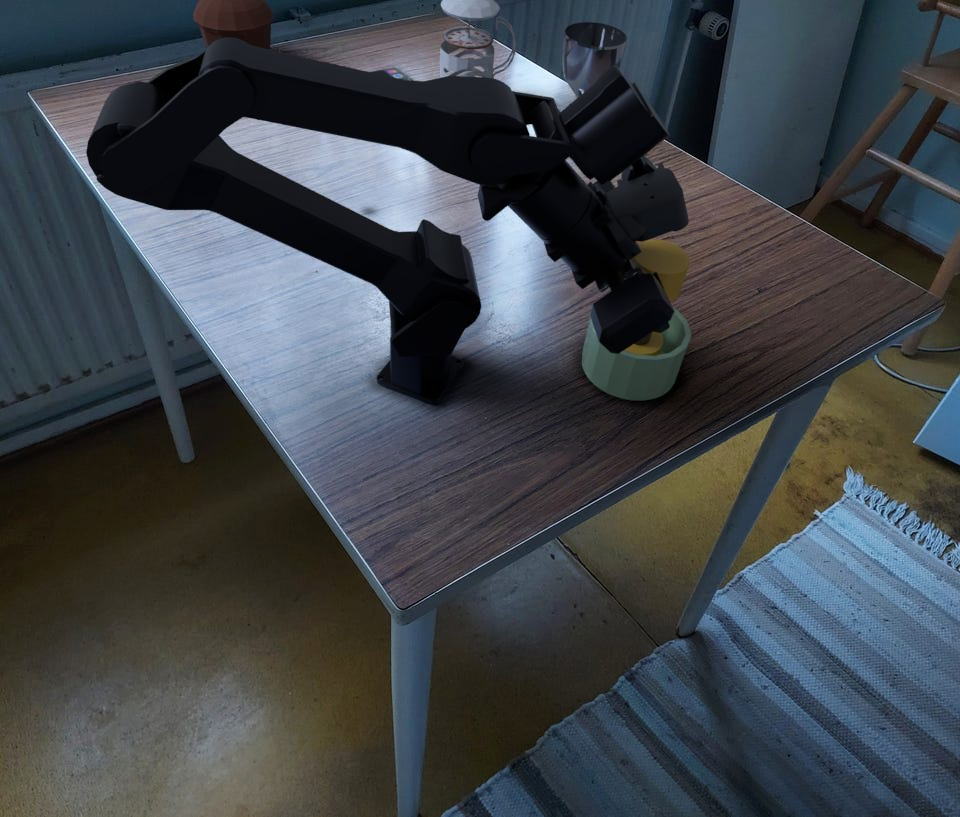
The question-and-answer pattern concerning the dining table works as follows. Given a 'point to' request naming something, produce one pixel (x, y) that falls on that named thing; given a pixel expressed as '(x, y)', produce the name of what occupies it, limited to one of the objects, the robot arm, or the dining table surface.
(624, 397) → the pot
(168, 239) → the dining table surface
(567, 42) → the wine glass
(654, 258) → the dumbbell
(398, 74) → the smartphone
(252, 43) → the muffin
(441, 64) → the french press
